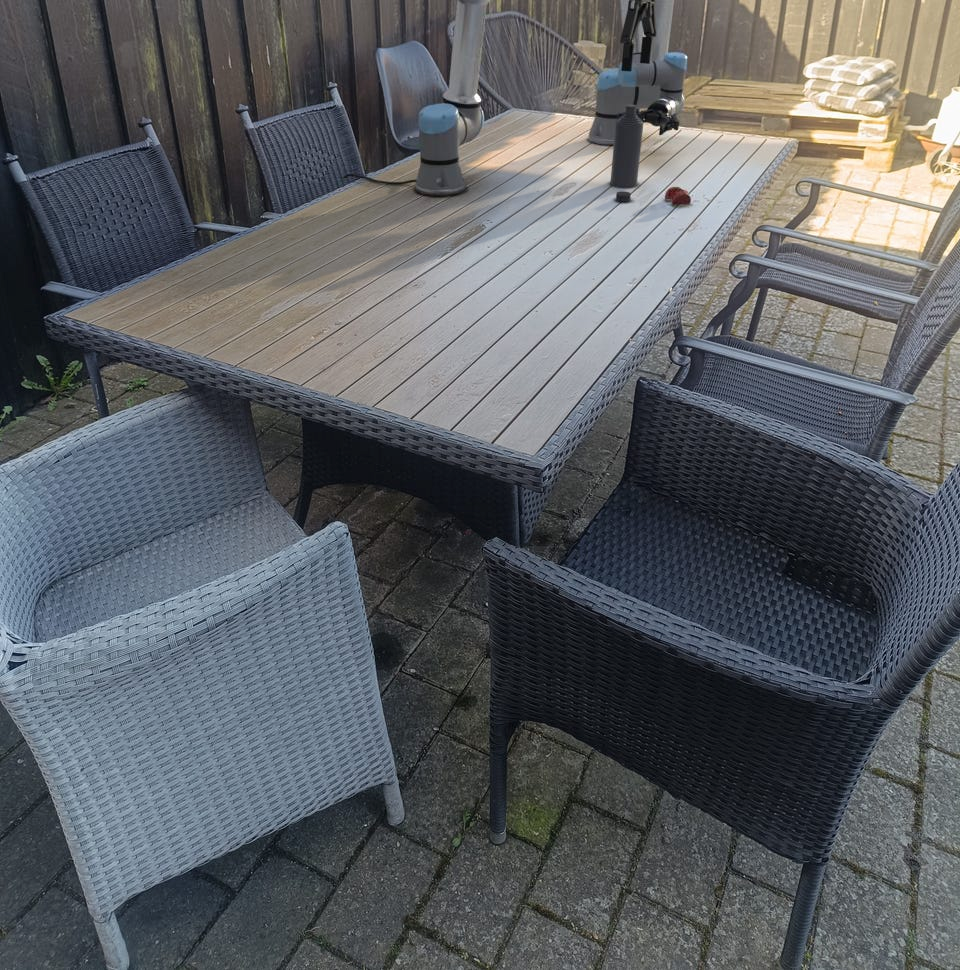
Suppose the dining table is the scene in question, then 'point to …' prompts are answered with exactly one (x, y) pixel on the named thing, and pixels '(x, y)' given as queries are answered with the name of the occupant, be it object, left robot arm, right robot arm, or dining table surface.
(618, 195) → the cap
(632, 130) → the bottle
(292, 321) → the dining table surface
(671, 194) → the dental model
